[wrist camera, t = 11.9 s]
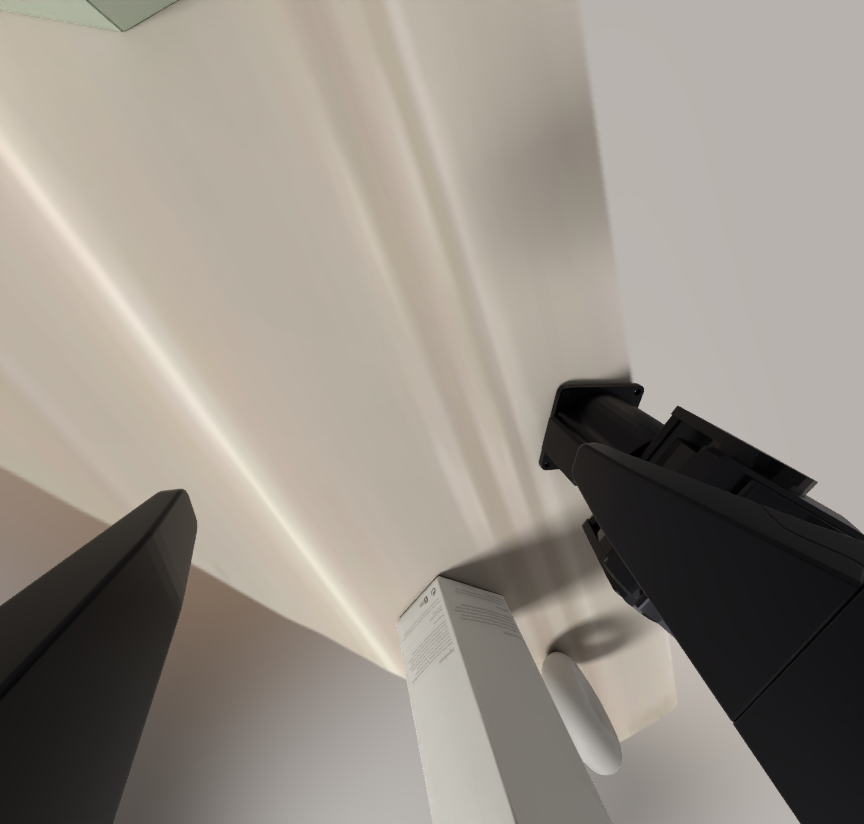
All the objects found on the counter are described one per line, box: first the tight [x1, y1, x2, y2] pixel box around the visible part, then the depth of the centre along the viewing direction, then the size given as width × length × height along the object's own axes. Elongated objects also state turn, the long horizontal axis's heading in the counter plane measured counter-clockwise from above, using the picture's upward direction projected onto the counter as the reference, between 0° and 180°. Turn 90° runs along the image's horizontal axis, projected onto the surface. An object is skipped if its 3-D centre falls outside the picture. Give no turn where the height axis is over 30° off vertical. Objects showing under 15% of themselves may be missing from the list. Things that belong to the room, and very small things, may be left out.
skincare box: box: [396, 576, 612, 824], centre depth 26 cm, size 8×7×16 cm
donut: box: [542, 652, 622, 775], centre depth 36 cm, size 10×4×10 cm, turn 33°
